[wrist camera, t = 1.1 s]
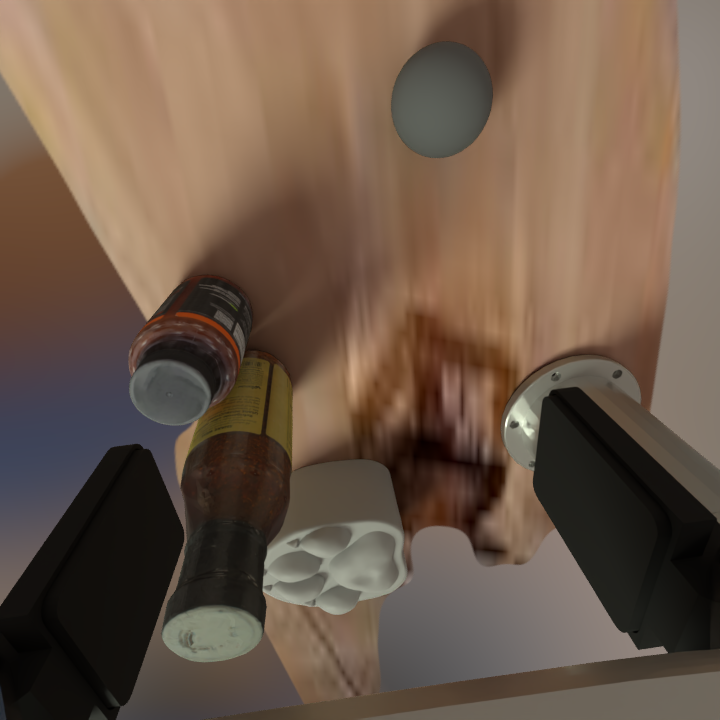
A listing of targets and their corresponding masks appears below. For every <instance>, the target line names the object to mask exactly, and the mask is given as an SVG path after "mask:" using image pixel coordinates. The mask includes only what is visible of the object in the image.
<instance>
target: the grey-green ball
mask: <svg viewBox="0 0 720 720" xmlns="http://www.w3.org/2000/svg"><path fill="white" fill-rule="evenodd" d="M492 98H493V90H492V82H491V78H490V74H489V72H488V69H487V67H486V65H485V64H484V62H483V61H482V59H481V58H480V57H479V55H478V54H476V53H475V52H474V51H473V50H472V49H470V48H469V47H467V46H465V45H463V44H460V43H456V42H449V41H446V42H437V43H434V44H431V45H428V46H426V47H424V48H422V49H421V50H419V51H418V52H416V53H415V54H414V55H413V56H412V57H411V58H410V59H409V60H408V61H407V62H406V64H405V65H404V66H403V68H402V69H401V71H400V73H399V75H398V77H397V79H396V82H395V85H394V88H393V92H392V100H391V111H392V118H393V122H394V126H395V128H396V131H397V133H398V135H399V137H400V138H401V139H402V141H403V142H404V143H405V144H406V145H407V146H408V147H409V148H410V149H411V150H413V151H414V152H416V153H418V154H420V155H422V156H425V157H430V158H444V157H449V156H452V155H455V154H457V153H459V152H461V151H462V150H464V149H465V148H467V147H468V146H469V145H470V144H472V143H473V142H474V141H475V139H476V138H477V137H478V136H479V134H480V133H481V132H482V130H483V128H484V126H485V124H486V122H487V120H488V117H489V114H490V111H491V106H492Z"/></svg>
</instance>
